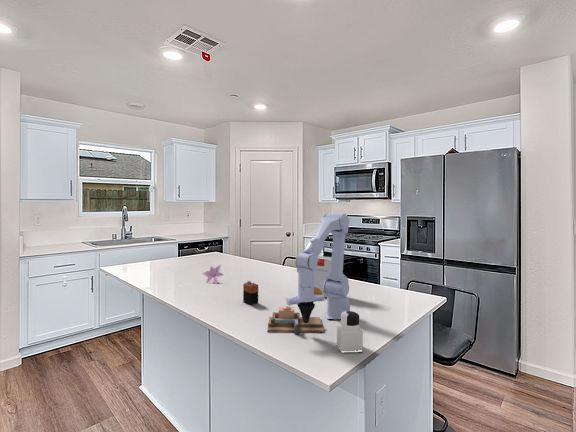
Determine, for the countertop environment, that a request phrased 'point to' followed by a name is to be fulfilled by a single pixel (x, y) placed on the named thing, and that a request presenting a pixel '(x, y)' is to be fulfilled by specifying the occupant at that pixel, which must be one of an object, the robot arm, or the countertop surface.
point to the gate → (296, 325)
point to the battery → (250, 293)
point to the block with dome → (286, 312)
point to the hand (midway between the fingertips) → (305, 322)
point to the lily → (213, 274)
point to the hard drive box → (321, 274)
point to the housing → (311, 326)
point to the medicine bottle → (349, 332)
